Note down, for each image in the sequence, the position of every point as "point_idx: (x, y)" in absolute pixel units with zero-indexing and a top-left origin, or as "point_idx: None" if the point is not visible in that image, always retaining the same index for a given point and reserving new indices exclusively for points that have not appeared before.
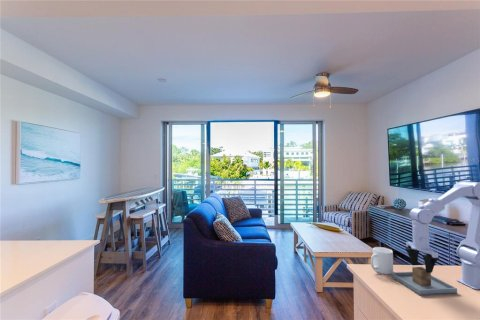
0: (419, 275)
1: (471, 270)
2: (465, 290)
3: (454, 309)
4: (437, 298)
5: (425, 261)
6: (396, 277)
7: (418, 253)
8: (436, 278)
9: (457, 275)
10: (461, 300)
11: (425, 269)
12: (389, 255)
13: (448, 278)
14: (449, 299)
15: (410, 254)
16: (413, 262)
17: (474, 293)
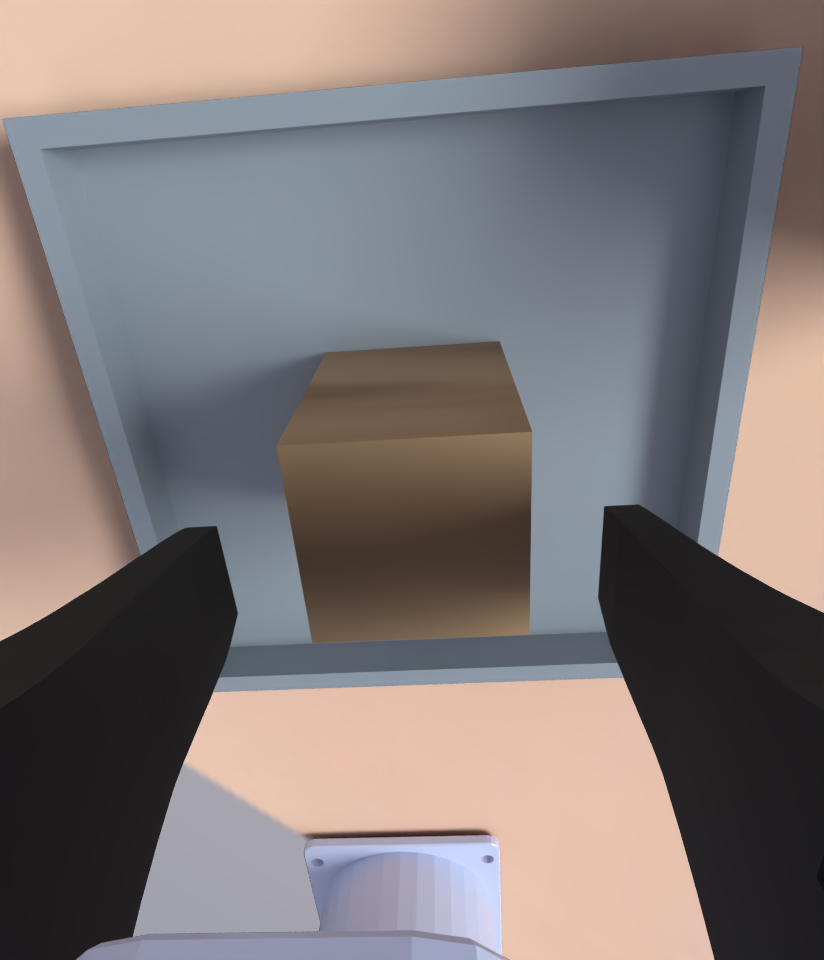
0: (329, 405)
1: None
2: (287, 762)
3: None
4: (27, 345)
5: (9, 672)
6: (611, 66)
7: (702, 894)
8: (456, 671)
9: (604, 908)
10: (46, 582)
11: (397, 611)
12: None
13: (555, 807)
14: (38, 475)
15: (733, 646)
16: (623, 557)
17: (230, 785)
